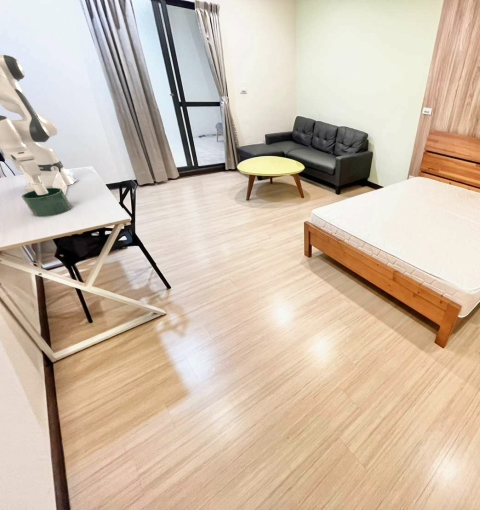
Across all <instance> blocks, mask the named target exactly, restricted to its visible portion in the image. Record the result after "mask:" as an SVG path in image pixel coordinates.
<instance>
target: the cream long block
mask: <svg viewBox="0 0 480 510" xmlns="http://www.w3.org/2000/svg"><path fill="white" fill-rule="evenodd" d="M39 178H40V180H41V181H42V183H43V184H44V186H45V188H60V189H62V191H63V192H64V194H65V195H66V193H67V190H68V185H67V186H66V183H65V181H64V180H63V178H62V176H61V174H60V173H59V171H58V170H57V171H48V172H41V175H39ZM24 190H25V191H26V193H28V192H31V191H34V188H33V187H32V185H31V184H30V182H29V181H28V183H27V185H26V187H25V188H24Z"/></svg>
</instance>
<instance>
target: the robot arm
mask: <svg viewBox="0 0 480 510" xmlns="http://www.w3.org/2000/svg"><path fill="white" fill-rule="evenodd" d="M24 78H25V70H24V67H23V65H22V64H21V63H20V62H19V61H18V59H16V58H15V57H14V56H11V55H6V54H0V105H1V106H2V107H3V109H5V110H6V111H7V112H11V113H13V114H18V115H19V116H20V117H21V119H14V120H11V119H9V117H8V116H5V115H0V151H1V152H2V153H3V155H4V156H5V158H6V160H11V162H12V164H13V166H14V167H15V169H17V170H18V171H20V172H22V173H23V171H22V170H21V168H20V167H19V165H20V166H21V167H22V169H23V170H24V172H25V173H26V174H29V175H30V176H31V177H32V178H33V181H34V182H35V183H39V182H40V181H39V179H38V176H39V175H41V172H48V171H57V170H58V171H59V173H60V174H61V176H62V178H63V180H64V181H65V183H66V186H67V187H68V186H70V185H73V184H75V182H78V179H77V178H74V177H73V173H71V172H70V170H69V169H68V168H66V167H64V164H63V163H62V162H61V160H60V159H59V158H58V156H57V154H56V152H55V150H54V149H53V148H51V147H50V146H48V145H44V144H40V143H47V141H48V140H49V139H50V138H51V137H54V136H57V134H58V128H57V126H56V125H55V123H54V122H53V121H51V120H50V119H48V118H45V117H44V116H42V115H40V114H39V113H38V112H37V111H36V110H35V109H34V108H33V106H32V105H31V102H29V101H28V98H27V97H26V95H25V93H24V91H23V88H22V87H21V85H20V83H19V82H20V80H23V79H24Z"/></svg>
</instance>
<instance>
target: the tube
mask: <svg viewBox="0 0 480 510" xmlns="http://www.w3.org/2000/svg"><path fill="white" fill-rule="evenodd" d="M19 167H20V168H21V170H22V171H23V172H22V171H21V172H22V173H23V174H24V176H25V178H26V179H27V181H28V183H29V182H30V184H31V185H32V187H33V188H34V190H35V192H36V193H37V195H44V194H47V193H48V191H47V189H46V188H45V186H44V184H43V183H42V181H41V180H40V178H39V176H38V179H39V181H40V182H39V183H35V182H34V181H33V178H32V177H31V176H30V175H29V174H26V173H25V172H24V170H23V169H22V167H21V166H20V165H19Z"/></svg>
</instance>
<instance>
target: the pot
mask: <svg viewBox="0 0 480 510" xmlns="http://www.w3.org/2000/svg"><path fill="white" fill-rule="evenodd" d="M46 189H47V191H48V193H47V194H44V195H37V193H36V192H35V190H34V191H31V192H25V193H23V194H22V195H21V198H22V200H23V202H24V203H25V204H26V206H27V208H28V209H29V211H30V212H31V214H32V215H33V216H35V217H43V218H44V217H51V216H52V217H53V216H56V215H60V214H63V213H66V212H68V211H69V210H71V209H72V205H71V202H70V200H69V199H68V198H67V196H66V193H65V194H64V192H63V191H62V189H60V188H46Z"/></svg>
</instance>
